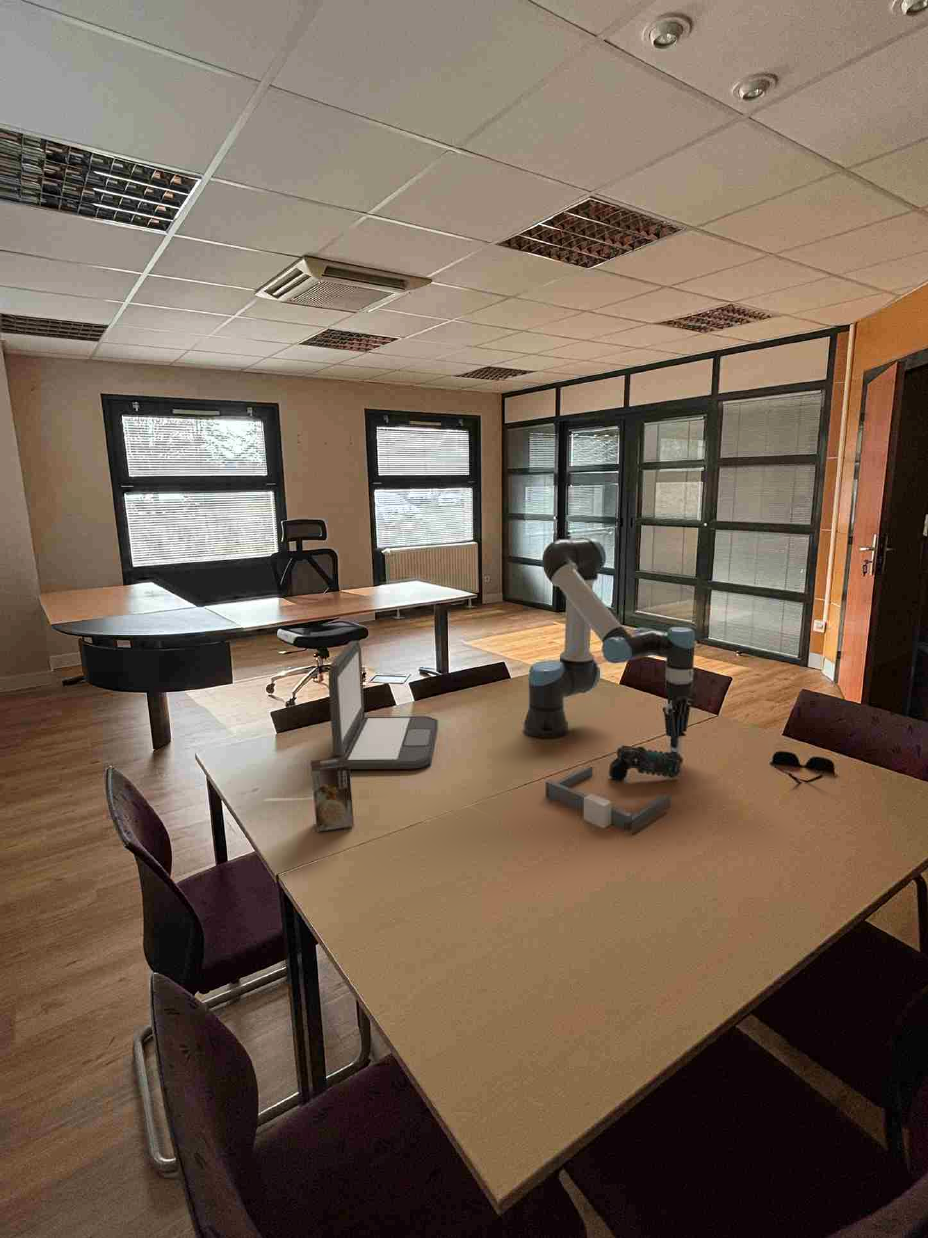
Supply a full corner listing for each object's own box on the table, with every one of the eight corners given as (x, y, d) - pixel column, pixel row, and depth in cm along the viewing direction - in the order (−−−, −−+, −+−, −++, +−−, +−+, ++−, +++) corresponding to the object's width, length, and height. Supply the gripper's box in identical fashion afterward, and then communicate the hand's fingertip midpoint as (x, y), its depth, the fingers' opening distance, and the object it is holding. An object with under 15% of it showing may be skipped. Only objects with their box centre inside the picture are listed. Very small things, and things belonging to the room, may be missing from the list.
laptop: (429, 771, 185) (426, 668, 178) (325, 772, 186) (318, 669, 179) (438, 723, 222) (435, 637, 216) (351, 724, 223) (346, 638, 217)
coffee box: (351, 814, 161) (348, 755, 158) (354, 826, 155) (350, 766, 152) (315, 819, 159) (310, 760, 155) (316, 832, 153) (311, 771, 149)
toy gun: (607, 773, 180) (613, 740, 177) (674, 783, 178) (681, 751, 176) (609, 780, 175) (615, 746, 173) (678, 790, 174) (685, 757, 172)
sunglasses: (767, 784, 173) (769, 767, 172) (769, 763, 185) (771, 748, 184) (838, 796, 165) (840, 779, 164) (835, 774, 178) (837, 758, 177)
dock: (538, 799, 167) (538, 778, 165) (589, 773, 181) (589, 753, 180) (628, 840, 146) (629, 816, 145) (677, 807, 161) (678, 785, 160)
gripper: (679, 688, 176) (675, 767, 181) (702, 678, 184) (697, 753, 189) (655, 682, 181) (652, 759, 186) (678, 673, 190) (675, 746, 195)
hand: (675, 756), depth 188 cm, fingers closed
